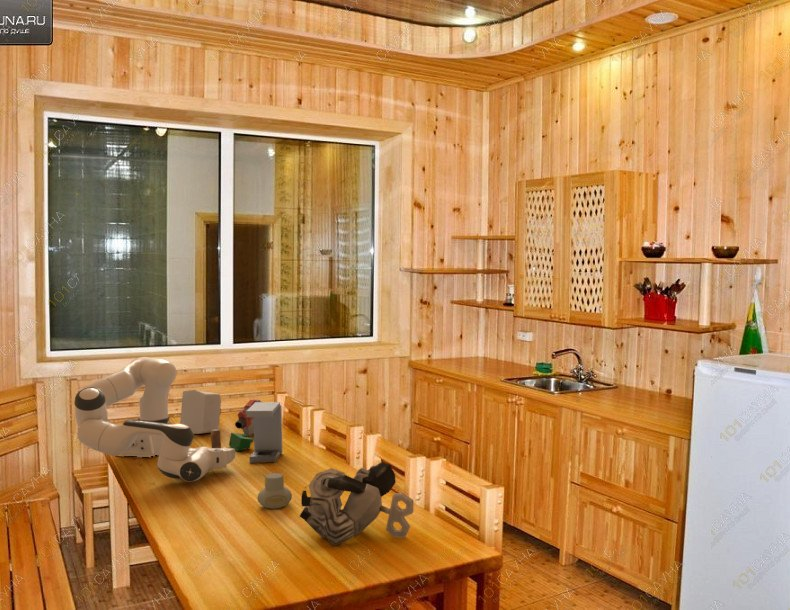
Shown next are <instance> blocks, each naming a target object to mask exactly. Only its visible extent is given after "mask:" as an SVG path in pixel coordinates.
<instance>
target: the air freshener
mask: <svg viewBox="0 0 790 610" xmlns="http://www.w3.org/2000/svg"><path fill="white" fill-rule="evenodd" d="M284 482H285V481H284V475H283V474H282V473H278V472H276V473H274V472H273V473H268V474H266V475H265V476H264V488H262V489H261V490H260V491H259V492H258V494H257V497H256V498H257V502H258V503H259V504H260V505H261V506H262V507H264V508H265V509H269V510H270V509H271V510H279V509H281V508H283V507H285V506H287V505H289V503H290V502H291V500H292V498H293V495H292V491H291V490H290V489H289V488H288V487H285V483H284Z"/></svg>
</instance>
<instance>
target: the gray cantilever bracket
mask: <svg viewBox="0 0 790 610" xmlns="http://www.w3.org/2000/svg"><path fill="white" fill-rule="evenodd" d="M282 414H283V413H282V405H281V402H279V401H274V402H272V401H270V402H269V401H268V402H267V401H265V402H262V401H261V402H255V403H254V404H253V405H252V406H251V407H250V408H249V409H248V410H247V411H246V415H247V417H253V418H254V435H253V445H254V447H253V448H254V450H253V452H254V451H255V450H280V454H282V453H284V452H283V422H282V420H283V419H282V418H283V417H282ZM282 455H283V454H282Z"/></svg>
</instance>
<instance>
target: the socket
mask: <svg viewBox="0 0 790 610" xmlns="http://www.w3.org/2000/svg"><path fill="white" fill-rule="evenodd" d="M279 456H280V457H281V455H280V450H255V451H254V450H253V452H252V453H251V454H250V455H249V464H260V463H259V462H276V463H277V461H278V460H277V459H279V458H280V457H279ZM278 457H279V458H278Z"/></svg>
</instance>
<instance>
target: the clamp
mask: <svg viewBox="0 0 790 610" xmlns="http://www.w3.org/2000/svg"><path fill="white" fill-rule="evenodd" d="M252 443H253V444H254V438H252V437H247V435H245V434H244V433H237V432H231V433H230V437H229V442H228V446H229V447H230V448H234V449H235V452H243V451H244V450H249V449H248V448H251V444H252Z"/></svg>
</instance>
